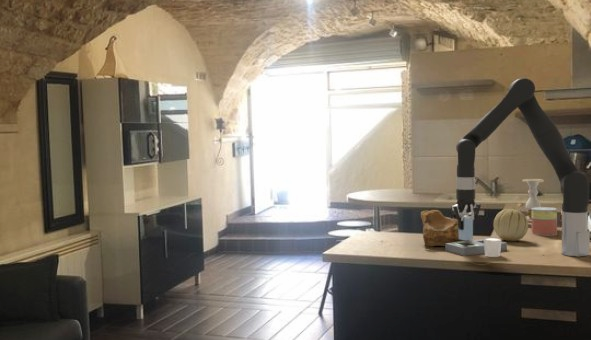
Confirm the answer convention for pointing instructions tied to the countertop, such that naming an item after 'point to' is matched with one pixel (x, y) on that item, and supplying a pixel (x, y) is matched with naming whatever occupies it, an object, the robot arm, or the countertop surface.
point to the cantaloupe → (510, 224)
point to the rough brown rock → (439, 229)
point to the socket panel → (469, 247)
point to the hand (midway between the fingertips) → (465, 229)
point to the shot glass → (492, 247)
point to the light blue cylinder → (467, 229)
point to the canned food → (544, 221)
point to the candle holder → (532, 198)
